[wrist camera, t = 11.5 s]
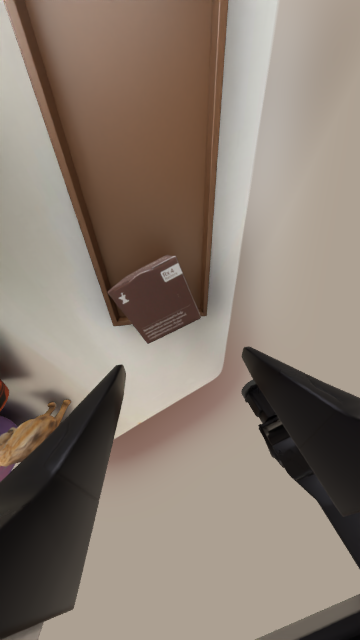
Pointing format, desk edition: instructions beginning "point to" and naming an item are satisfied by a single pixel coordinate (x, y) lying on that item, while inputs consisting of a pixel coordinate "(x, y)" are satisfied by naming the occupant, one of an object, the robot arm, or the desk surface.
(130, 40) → the tray
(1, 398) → the oil filter
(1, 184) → the desk surface
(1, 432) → the decorative ball
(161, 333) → the box
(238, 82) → the desk surface
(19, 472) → the robot arm
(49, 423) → the lion figurine
